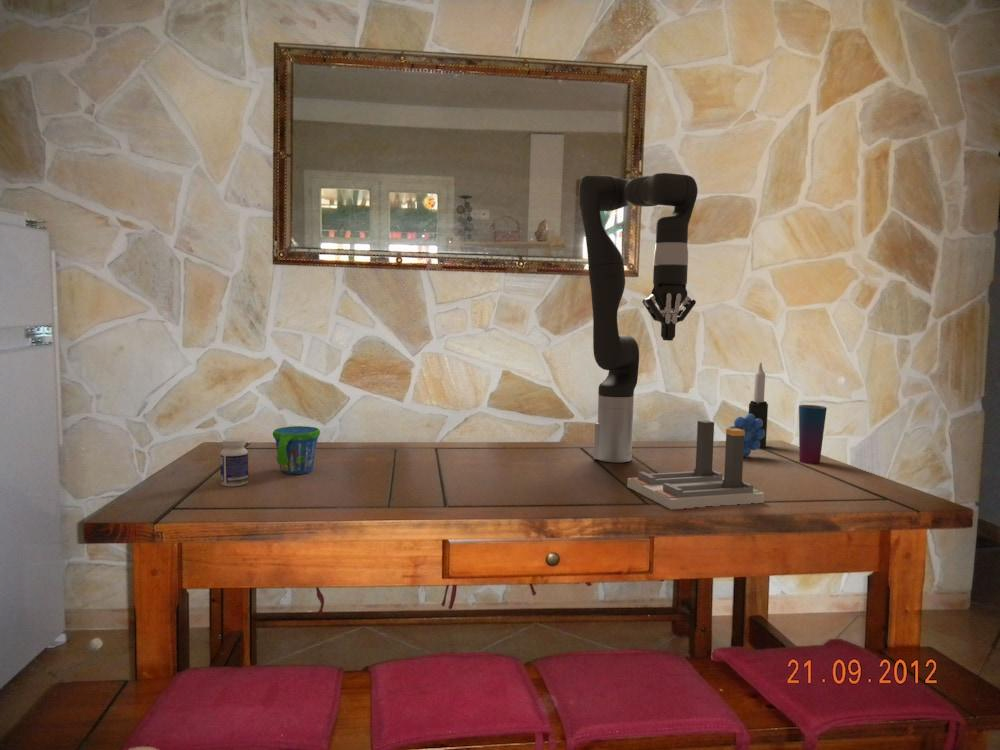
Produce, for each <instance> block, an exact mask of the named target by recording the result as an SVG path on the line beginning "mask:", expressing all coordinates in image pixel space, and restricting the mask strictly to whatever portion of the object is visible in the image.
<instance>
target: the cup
mask: <svg viewBox="0 0 1000 750" xmlns="http://www.w3.org/2000/svg"><path fill="white" fill-rule="evenodd" d="M827 410H828V408H827V407H826V406H823V405H815V404H800V405H798V427H799V428H798V436H799V437H798V445H799V446H798V449H799V454H798V455H799V462H800V463H803V464H804V463H805V464H808V463H818V464H820V463H821V456H822V455H821V454H822V447H823V439H824V432H825V425H826V417H827V416H826V415H827Z"/></svg>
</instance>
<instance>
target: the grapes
mask: <svg viewBox="0 0 1000 750" xmlns="http://www.w3.org/2000/svg"><path fill="white" fill-rule="evenodd" d="M762 426H763V421H762V420H761V419H760V418H757V419H755V416H754V415H753V414H749V413H748V414H746V415H745V417H743V416H738V417H736V418H735V419H734V424H733V425H731V426H729V427H728V428H727V429H734V428H738V429H741V430H745V436H744V451H743V458H747V457H749V456H750V454H751V452H752V451H756V450H759V449H760V448H759V447H760V441H759V440H760V439H762V438H763V437H764V436H765V431H764V430H763V429H762V428H761V427H762ZM758 439H759V440H758ZM724 445H725V446H726V442H725V444H724Z"/></svg>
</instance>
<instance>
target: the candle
mask: <svg viewBox="0 0 1000 750" xmlns="http://www.w3.org/2000/svg"><path fill="white" fill-rule="evenodd" d="M758 364H759V365H758V368H757V371H756V372H755V373H754V382H753V400H750V402H749V404H748V414H753V415H754V416H755V419H757V418H760V419H761V420H762V421H763V426H762V427H761V428H762V429H763V430H764V431H765V436H764V437H763V438H762V439H760V440H759V439H758V440H759V441H760V447H759V448H758V449H765V448H766V446H767V434H768V433H767V432H768V416H769V414H768V413H769V411H768V410H769V403H768V401H765V388H766V387H765V386H766V373H765V371H764V369H763V363H762V362H759V363H758Z"/></svg>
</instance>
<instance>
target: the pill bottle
mask: <svg viewBox="0 0 1000 750" xmlns="http://www.w3.org/2000/svg"><path fill="white" fill-rule="evenodd" d="M245 446H246V439H245V438H243V437H233V438H232V437H230V438H225V439H223V440H222V447H223V449H222V450H221V451H220V453H219V454H220V457H219V459H220V484H221V485H222V486H224V487H241V486H245V485H246V484H248V483H249V453H248V452H249V451H248V449H246V447H245Z"/></svg>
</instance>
